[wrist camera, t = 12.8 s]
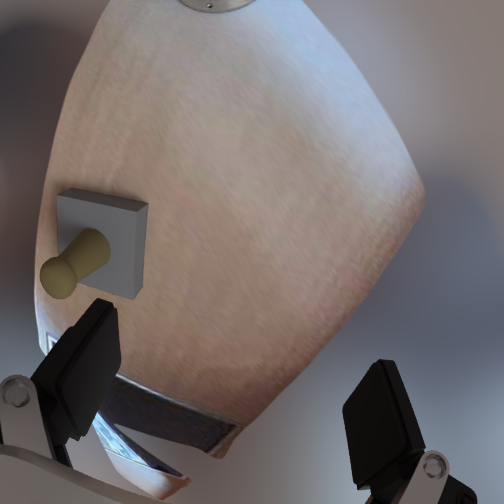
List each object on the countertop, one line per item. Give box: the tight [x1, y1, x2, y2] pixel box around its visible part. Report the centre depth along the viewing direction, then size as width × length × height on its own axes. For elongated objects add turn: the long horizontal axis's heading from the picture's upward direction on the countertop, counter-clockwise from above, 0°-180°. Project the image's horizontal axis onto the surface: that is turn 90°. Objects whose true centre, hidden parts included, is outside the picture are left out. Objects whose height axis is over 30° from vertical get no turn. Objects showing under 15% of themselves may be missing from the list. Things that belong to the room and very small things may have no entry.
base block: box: [57, 188, 148, 300], centre depth 40 cm, size 14×14×4 cm
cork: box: [40, 228, 111, 299], centre depth 33 cm, size 6×6×11 cm
